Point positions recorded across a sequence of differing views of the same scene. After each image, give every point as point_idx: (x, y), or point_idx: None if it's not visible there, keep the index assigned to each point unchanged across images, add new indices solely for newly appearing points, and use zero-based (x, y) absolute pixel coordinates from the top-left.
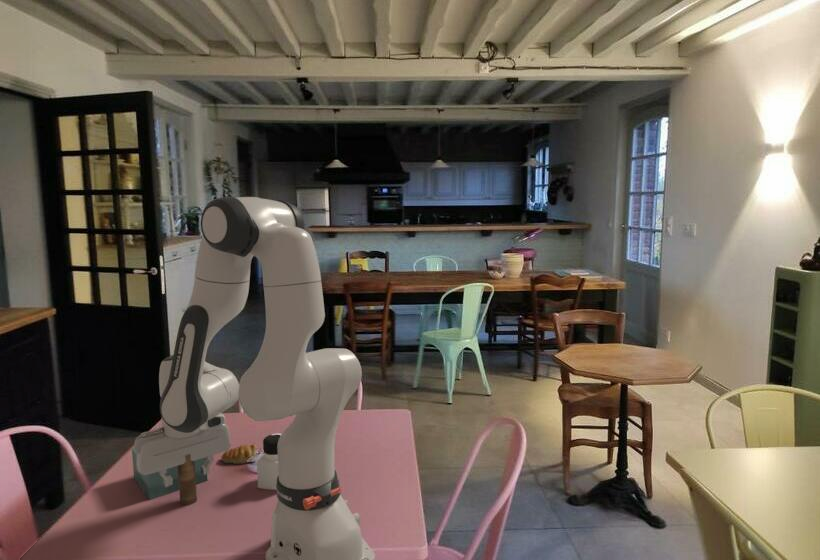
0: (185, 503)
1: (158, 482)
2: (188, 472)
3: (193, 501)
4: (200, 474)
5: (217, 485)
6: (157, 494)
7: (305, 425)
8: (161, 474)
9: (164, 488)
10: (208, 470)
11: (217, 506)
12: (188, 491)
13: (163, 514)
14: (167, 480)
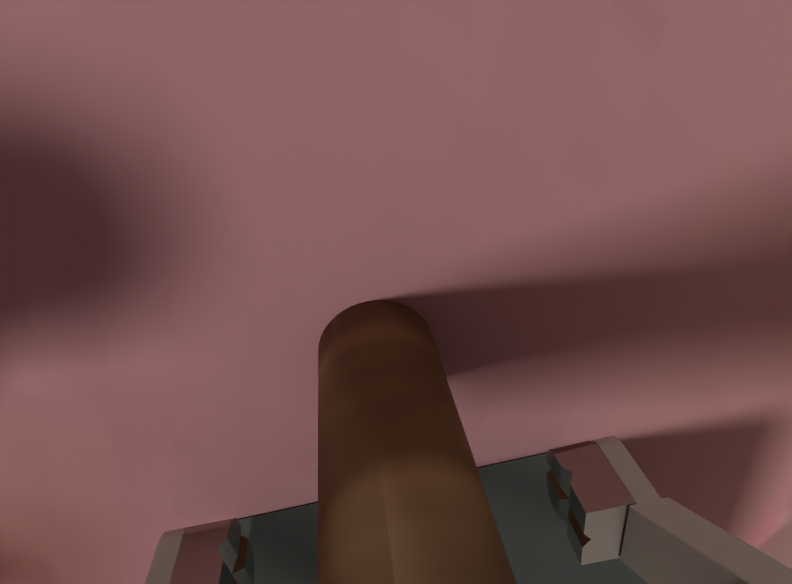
0: (408, 313)
1: (554, 543)
2: (415, 559)
3: (349, 316)
4: (267, 567)
5: (164, 455)
6: (534, 470)
7: None
8: (785, 580)
9: (500, 499)
10: (163, 563)
11: (157, 167)
12: (394, 372)
13: (564, 258)
14: (640, 495)
